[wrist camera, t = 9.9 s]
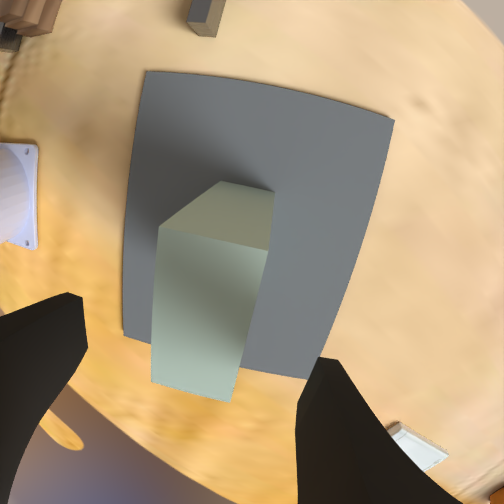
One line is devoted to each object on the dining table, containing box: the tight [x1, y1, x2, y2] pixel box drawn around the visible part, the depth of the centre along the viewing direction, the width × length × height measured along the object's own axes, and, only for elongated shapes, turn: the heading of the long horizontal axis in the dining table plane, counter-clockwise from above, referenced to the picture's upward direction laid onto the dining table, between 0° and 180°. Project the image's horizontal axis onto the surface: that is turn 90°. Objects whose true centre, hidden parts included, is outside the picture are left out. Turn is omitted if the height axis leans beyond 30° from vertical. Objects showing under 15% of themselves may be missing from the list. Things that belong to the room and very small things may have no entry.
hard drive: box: [387, 422, 449, 472], centre depth 25 cm, size 2×8×12 cm
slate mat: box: [123, 71, 395, 380], centre depth 18 cm, size 14×18×1 cm
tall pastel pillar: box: [151, 181, 275, 403], centre depth 13 cm, size 3×6×9 cm, turn 168°
